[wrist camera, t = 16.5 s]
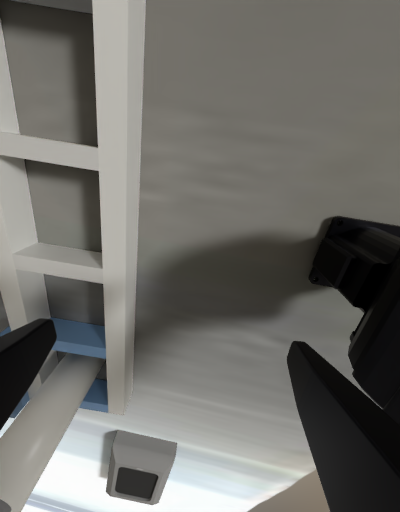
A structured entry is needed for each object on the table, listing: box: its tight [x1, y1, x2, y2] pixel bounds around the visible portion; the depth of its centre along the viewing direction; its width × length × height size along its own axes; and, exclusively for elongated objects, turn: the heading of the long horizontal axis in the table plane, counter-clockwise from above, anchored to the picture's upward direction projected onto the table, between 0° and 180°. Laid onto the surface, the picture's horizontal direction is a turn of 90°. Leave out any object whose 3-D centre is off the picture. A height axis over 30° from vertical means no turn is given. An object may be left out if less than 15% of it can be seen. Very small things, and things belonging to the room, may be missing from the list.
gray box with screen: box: [106, 430, 177, 505], centre depth 36 cm, size 10×4×15 cm
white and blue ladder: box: [0, 0, 146, 418], centre depth 17 cm, size 13×49×5 cm, turn 171°
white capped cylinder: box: [0, 352, 105, 512], centre depth 21 cm, size 4×4×14 cm
